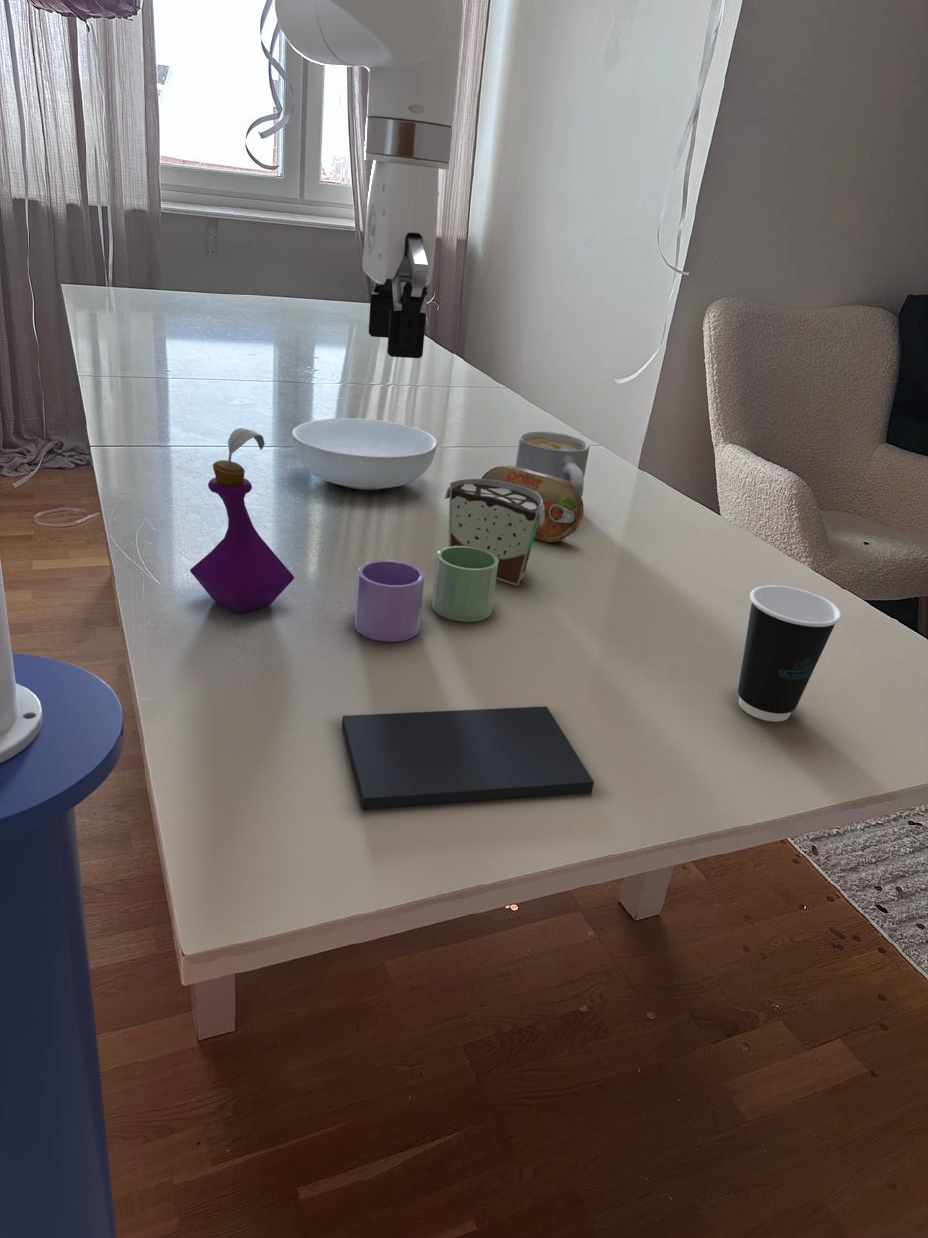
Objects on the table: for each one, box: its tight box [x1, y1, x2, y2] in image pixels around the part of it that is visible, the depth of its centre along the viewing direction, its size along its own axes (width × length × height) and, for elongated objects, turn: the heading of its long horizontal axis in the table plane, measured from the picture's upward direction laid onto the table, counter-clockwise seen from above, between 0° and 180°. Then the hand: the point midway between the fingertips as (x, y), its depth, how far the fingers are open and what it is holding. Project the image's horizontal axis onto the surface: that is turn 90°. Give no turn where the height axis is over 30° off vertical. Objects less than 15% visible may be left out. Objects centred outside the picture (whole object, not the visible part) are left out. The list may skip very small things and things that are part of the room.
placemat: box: [341, 705, 595, 810], centre depth 72 cm, size 18×11×1 cm, turn 105°
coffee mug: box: [515, 430, 590, 498], centre depth 127 cm, size 13×10×10 cm
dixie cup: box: [737, 584, 842, 723], centre depth 82 cm, size 8×8×11 cm
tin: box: [480, 465, 584, 543], centre depth 119 cm, size 15×3×8 cm, turn 58°
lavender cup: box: [354, 559, 425, 643], centre depth 90 cm, size 6×6×6 cm
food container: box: [444, 478, 545, 587], centre depth 106 cm, size 12×6×10 cm, turn 62°
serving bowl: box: [291, 417, 438, 491], centre depth 131 cm, size 21×21×7 cm
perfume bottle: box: [189, 427, 295, 615], centre depth 88 cm, size 8×8×18 cm
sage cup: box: [431, 546, 499, 623], centre depth 96 cm, size 6×6×6 cm
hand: (394, 346), depth 86 cm, fingers open, 9 cm apart
